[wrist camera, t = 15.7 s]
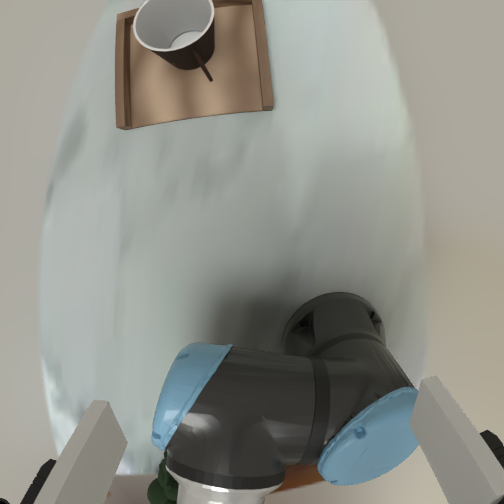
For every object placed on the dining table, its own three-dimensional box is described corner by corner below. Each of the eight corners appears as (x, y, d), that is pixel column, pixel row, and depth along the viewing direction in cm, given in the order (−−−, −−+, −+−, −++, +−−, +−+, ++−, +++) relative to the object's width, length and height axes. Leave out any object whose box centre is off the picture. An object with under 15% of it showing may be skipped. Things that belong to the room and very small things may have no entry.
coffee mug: (159, 28, 32) (135, -5, 23) (222, 19, 32) (213, -19, 23) (158, 103, 35) (130, 84, 26) (225, 95, 35) (216, 71, 26)
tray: (259, -1, 32) (260, -11, 29) (272, 110, 36) (273, 105, 33) (124, 22, 32) (117, 14, 30) (125, 130, 37) (116, 127, 34)
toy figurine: (165, 420, 51) (150, 485, 55) (142, 493, 32) (133, 544, 36) (213, 434, 52) (188, 496, 56) (204, 510, 33) (178, 556, 37)
